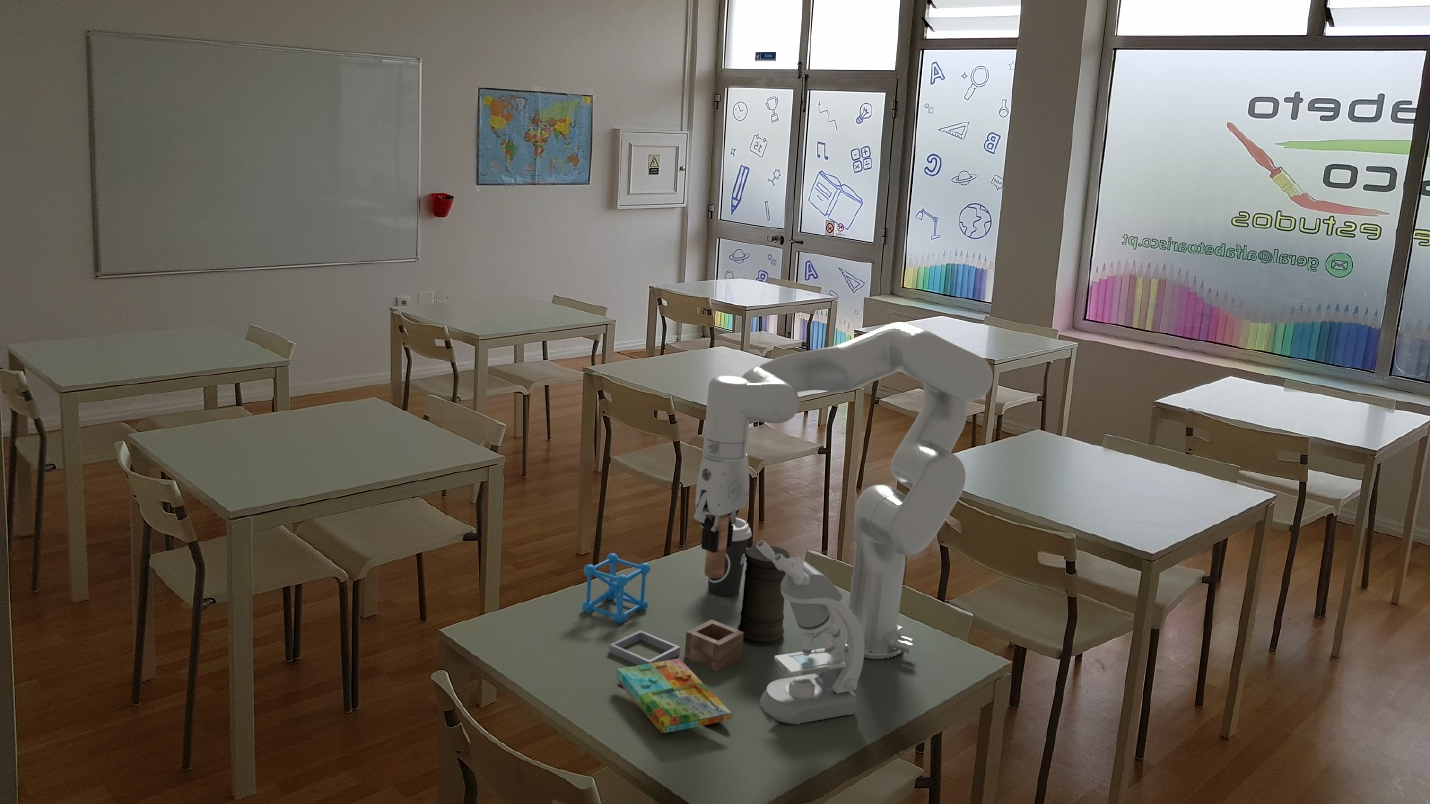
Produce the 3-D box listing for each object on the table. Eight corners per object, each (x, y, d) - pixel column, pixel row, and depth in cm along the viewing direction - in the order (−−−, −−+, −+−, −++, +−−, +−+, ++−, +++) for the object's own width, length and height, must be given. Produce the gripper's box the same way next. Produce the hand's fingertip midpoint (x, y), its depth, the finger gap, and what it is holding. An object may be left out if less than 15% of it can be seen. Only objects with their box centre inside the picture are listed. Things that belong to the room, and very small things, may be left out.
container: (790, 638, 217) (799, 550, 213) (772, 656, 209) (781, 565, 205) (747, 626, 220) (755, 540, 216) (728, 643, 213) (736, 554, 208)
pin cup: (741, 662, 205) (743, 632, 204) (716, 676, 200) (719, 645, 198) (708, 649, 210) (711, 619, 208) (684, 662, 204) (686, 631, 202)
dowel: (727, 574, 201) (733, 516, 198) (716, 579, 198) (721, 520, 196) (712, 568, 203) (717, 510, 200) (700, 573, 200) (705, 515, 197)
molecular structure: (621, 626, 216) (624, 578, 214) (579, 612, 221) (581, 564, 219) (649, 609, 225) (653, 562, 222) (608, 596, 229) (611, 550, 227)
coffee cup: (741, 602, 231) (747, 534, 228) (696, 595, 233) (701, 527, 229) (750, 585, 240) (755, 518, 237) (706, 578, 242) (711, 512, 238)
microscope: (735, 702, 191) (750, 535, 184) (830, 686, 199) (848, 526, 192) (765, 734, 182) (782, 560, 175) (864, 716, 190) (883, 549, 183)
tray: (679, 659, 205) (680, 646, 204) (648, 675, 198) (649, 662, 198) (639, 642, 210) (640, 630, 210) (608, 657, 204) (609, 644, 203)
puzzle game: (678, 653, 197) (732, 708, 180) (676, 678, 199) (730, 734, 182) (616, 664, 192) (666, 721, 175) (615, 689, 193) (664, 748, 176)
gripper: (713, 461, 186) (704, 565, 191) (769, 444, 199) (760, 542, 204) (678, 451, 191) (670, 553, 195) (735, 435, 204) (726, 530, 208)
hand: (716, 546), depth 199 cm, fingers closed on dowel, 3 cm apart
